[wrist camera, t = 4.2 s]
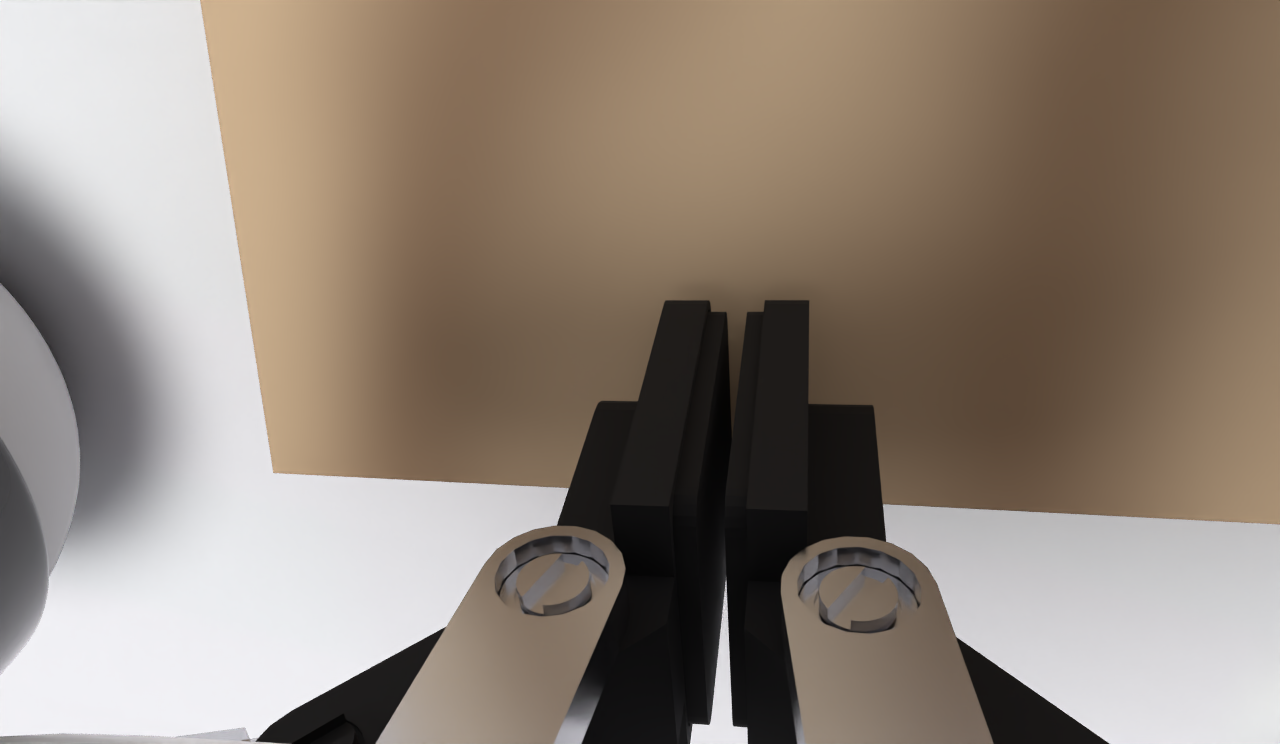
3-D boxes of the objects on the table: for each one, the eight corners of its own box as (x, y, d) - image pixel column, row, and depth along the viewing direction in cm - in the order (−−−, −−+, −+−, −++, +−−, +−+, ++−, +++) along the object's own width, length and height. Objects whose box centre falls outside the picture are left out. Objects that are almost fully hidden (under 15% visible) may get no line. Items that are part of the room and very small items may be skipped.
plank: (2459, -280, 9) (2693, -326, 8) (2080, 520, 12) (2218, 572, 10) (233, -136, 13) (176, -152, 12) (314, 440, 15) (273, 473, 14)
